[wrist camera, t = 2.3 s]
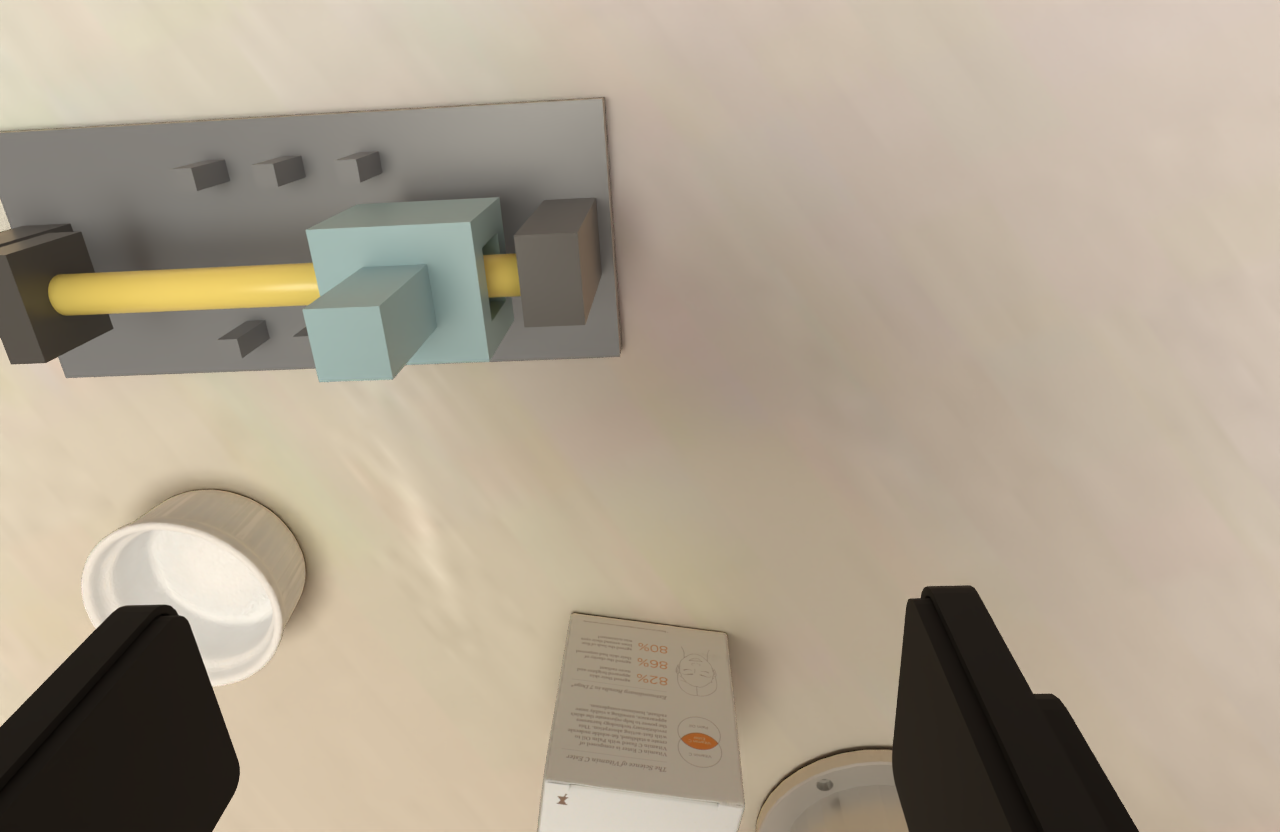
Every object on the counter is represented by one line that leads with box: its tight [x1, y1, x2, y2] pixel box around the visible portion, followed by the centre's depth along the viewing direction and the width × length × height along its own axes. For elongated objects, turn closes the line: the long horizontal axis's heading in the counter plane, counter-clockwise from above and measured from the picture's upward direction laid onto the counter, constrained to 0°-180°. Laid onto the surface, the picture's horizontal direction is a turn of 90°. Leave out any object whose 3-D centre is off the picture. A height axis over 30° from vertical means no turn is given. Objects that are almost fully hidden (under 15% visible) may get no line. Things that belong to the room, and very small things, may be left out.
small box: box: [537, 613, 745, 832], centre depth 37 cm, size 8×6×10 cm
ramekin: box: [81, 490, 306, 687], centre depth 38 cm, size 9×9×4 cm
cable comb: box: [0, 97, 621, 378], centre depth 30 cm, size 24×10×8 cm, turn 93°
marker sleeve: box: [302, 197, 514, 382], centre depth 25 cm, size 5×4×9 cm
